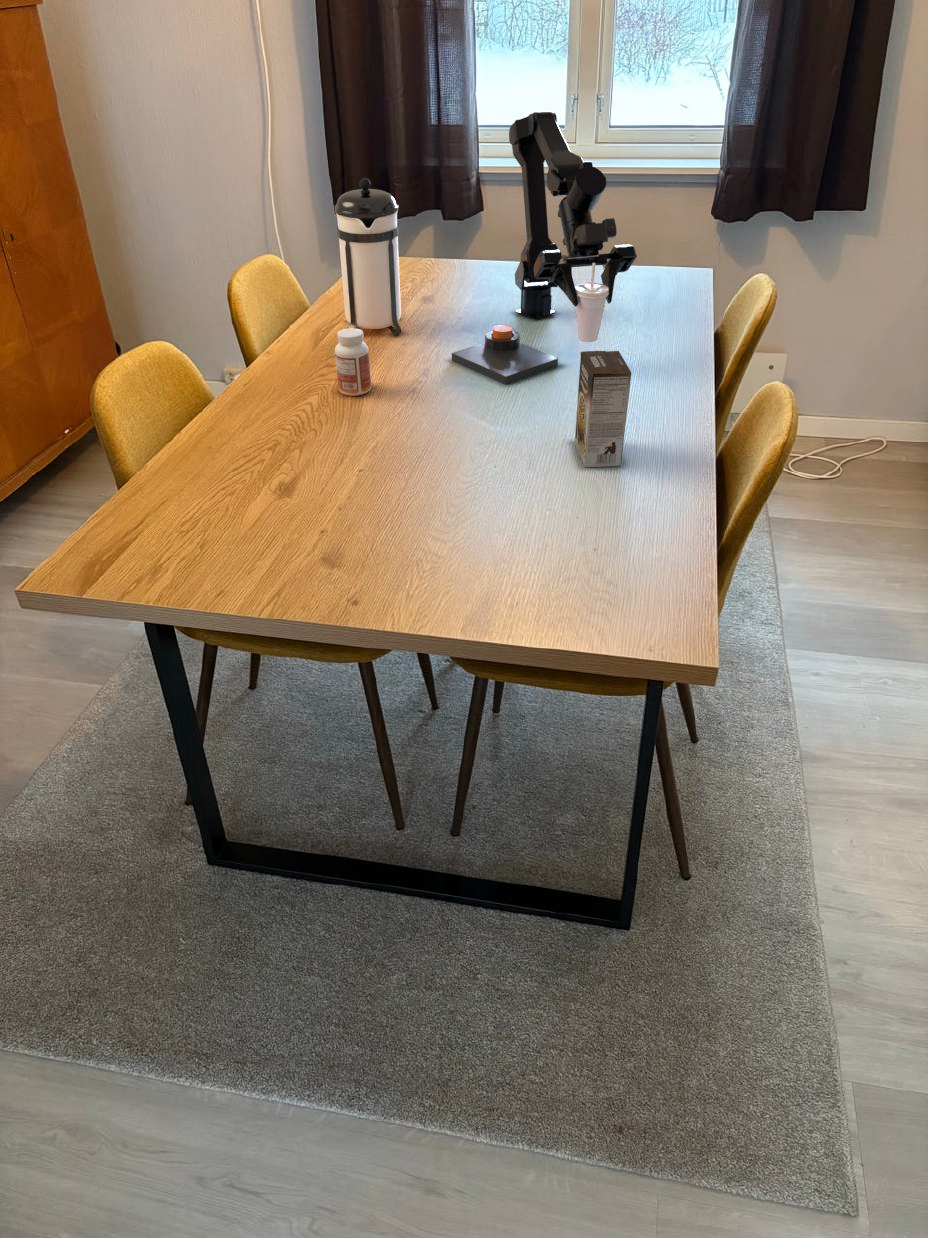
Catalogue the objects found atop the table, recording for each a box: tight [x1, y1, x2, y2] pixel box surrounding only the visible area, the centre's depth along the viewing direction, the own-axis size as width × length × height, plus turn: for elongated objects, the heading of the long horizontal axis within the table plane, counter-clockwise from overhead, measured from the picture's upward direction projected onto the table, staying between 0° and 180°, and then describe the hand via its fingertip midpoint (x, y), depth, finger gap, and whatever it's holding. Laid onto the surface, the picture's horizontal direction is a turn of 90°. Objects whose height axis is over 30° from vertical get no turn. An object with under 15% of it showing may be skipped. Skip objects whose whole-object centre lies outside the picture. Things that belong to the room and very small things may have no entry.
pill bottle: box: [334, 327, 372, 397], centre depth 173 cm, size 6×6×11 cm
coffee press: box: [334, 177, 402, 336], centre depth 195 cm, size 17×16×30 cm
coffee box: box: [574, 350, 632, 468], centre depth 151 cm, size 9×6×16 cm
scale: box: [451, 329, 559, 386], centre depth 186 cm, size 16×14×4 cm
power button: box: [492, 324, 514, 339], centre depth 190 cm, size 4×4×2 cm
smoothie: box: [575, 263, 609, 343], centre depth 177 cm, size 6×6×14 cm
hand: (593, 303), depth 175 cm, fingers closed on smoothie, 6 cm apart
